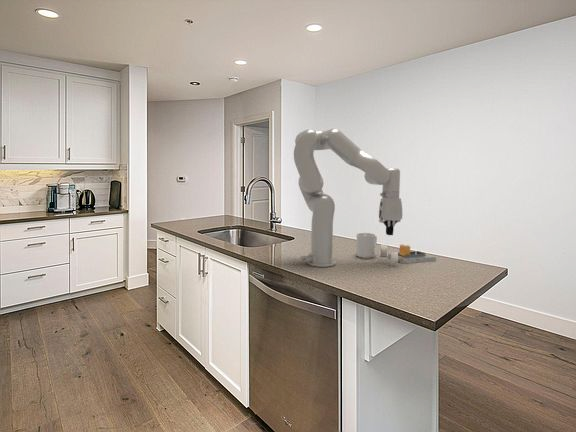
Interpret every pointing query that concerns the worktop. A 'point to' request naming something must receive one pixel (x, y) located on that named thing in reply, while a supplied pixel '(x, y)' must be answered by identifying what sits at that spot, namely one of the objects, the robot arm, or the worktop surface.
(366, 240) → the mug
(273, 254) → the worktop surface
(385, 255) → the post far
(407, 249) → the toggle
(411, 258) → the panel
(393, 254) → the post near
